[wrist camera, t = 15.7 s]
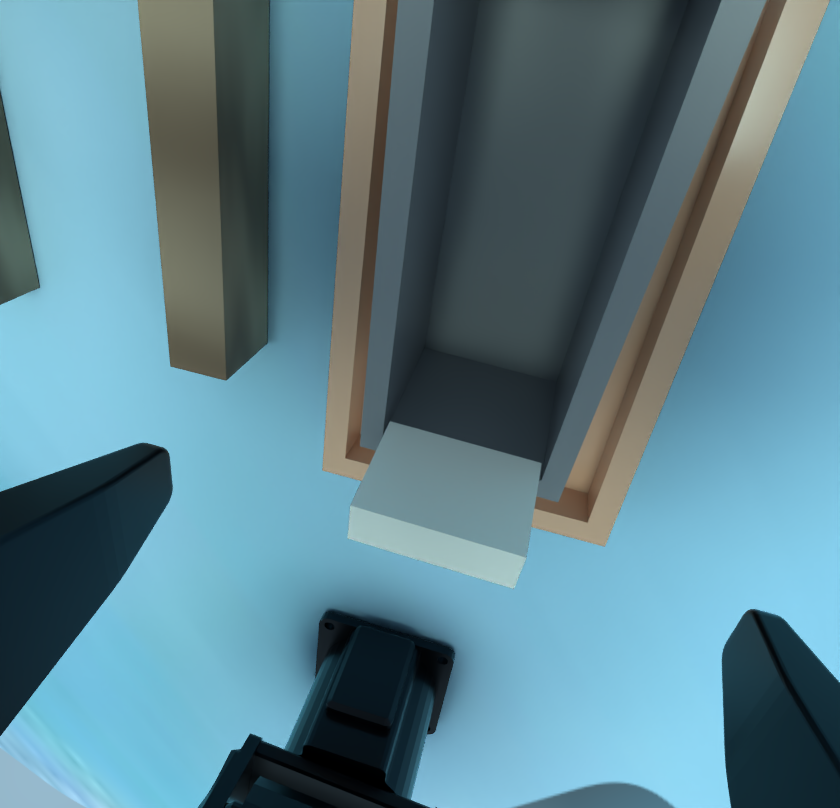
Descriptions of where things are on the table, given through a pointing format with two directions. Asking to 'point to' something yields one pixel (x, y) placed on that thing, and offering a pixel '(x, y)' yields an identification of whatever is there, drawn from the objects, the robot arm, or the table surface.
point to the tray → (663, 300)
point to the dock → (192, 179)
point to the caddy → (520, 248)
